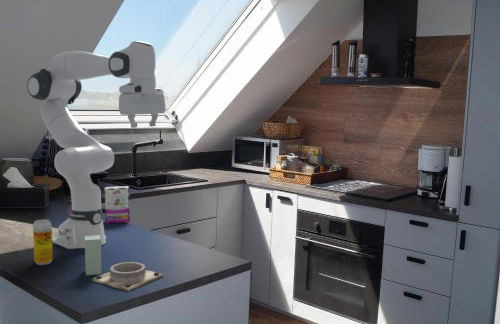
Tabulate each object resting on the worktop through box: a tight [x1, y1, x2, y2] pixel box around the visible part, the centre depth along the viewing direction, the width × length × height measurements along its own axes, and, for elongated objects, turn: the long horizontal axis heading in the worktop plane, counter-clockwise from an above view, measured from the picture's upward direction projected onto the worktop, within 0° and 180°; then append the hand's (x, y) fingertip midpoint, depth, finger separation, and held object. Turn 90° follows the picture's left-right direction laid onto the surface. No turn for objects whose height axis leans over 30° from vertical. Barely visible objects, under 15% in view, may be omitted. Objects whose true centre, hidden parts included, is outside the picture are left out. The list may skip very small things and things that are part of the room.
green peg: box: [84, 235, 103, 276], centre depth 182 cm, size 5×5×12 cm
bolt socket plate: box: [91, 261, 164, 292], centre depth 177 cm, size 16×16×4 cm
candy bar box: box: [103, 185, 131, 224], centre depth 250 cm, size 11×5×16 cm, turn 104°
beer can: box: [32, 218, 54, 266], centre depth 191 cm, size 6×6×15 cm
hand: (143, 127), depth 193 cm, fingers open, 8 cm apart
